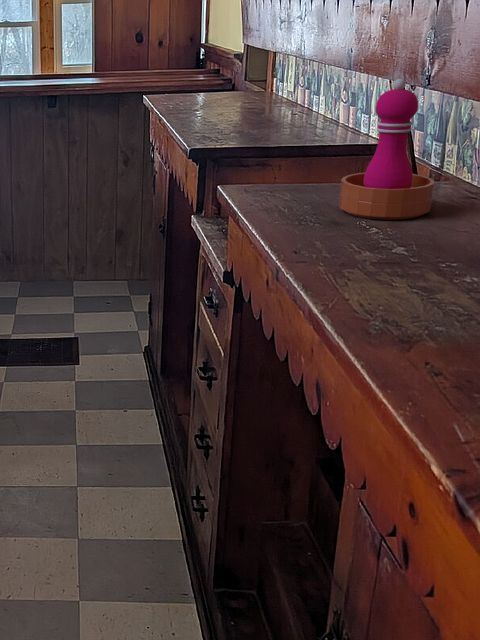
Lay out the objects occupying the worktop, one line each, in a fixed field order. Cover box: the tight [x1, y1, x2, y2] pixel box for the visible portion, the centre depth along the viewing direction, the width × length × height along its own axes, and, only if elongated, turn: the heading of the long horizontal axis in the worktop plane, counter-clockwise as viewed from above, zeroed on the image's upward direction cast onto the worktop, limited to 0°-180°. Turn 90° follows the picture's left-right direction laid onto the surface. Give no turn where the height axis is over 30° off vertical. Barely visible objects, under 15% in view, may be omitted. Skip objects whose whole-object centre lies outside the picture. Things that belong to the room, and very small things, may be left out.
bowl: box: [338, 172, 436, 221], centre depth 139 cm, size 14×14×5 cm
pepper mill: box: [363, 77, 419, 189], centre depth 136 cm, size 7×7×20 cm
